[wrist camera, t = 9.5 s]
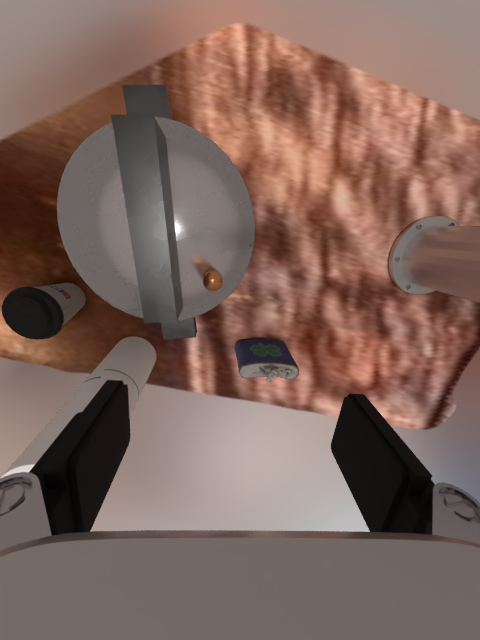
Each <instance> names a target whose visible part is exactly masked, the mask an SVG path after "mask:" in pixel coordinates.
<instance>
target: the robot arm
mask: <svg viewBox="0 0 480 640" xmlns="http://www.w3.org/2000/svg"><path fill="white" fill-rule="evenodd" d="M389 273H390V276H391V279H392V281H393V282H394V284H395V285H396V286H397V287H398V288H399V289H401V290H403V291H405V292H407V293H411V294H416V295H421V294H428V293H431V292H434V291H439V292H442V293H446V294H449V295H453V296H457V297H460V298H464V299H467V300H471V301H474V302H478V303H480V226H459V225H458V224H457V222H455V221H454V220H452V219H451V218H447V217H444V216H430V217H426V218H422V219H420V220H418V221H415V222H414V223H412V224H411V225H409V226H408V227H407V228H406V229H405V230H404V231H403V232H402V233H401V234H400V235H399V237H398V238H397V239H396V241H395V243H394V245H393V247H392V250H391V252H390V257H389ZM129 441H130V420H129V398H128V385H127V384H124V383H123V381H122V380H107V381H106V382H105V383H104V384H103V386H102V387H101V388H100V390H99V391H98V392H97V393H96V395H95V396H94V397H93V399H92V400H91V401H90V402H89V404H88V405H87V406H86V408H85V409H84V410H83V411H82V412H79V413H77V414H76V415H75V416H74V417H73V418H72V419H71V420H70V422H69V423H68V424H67V425H66V427H65V428H64V429H63V430H62V432H61V433H60V434H59V435H58V437H57V438H56V439H55V440H54V442H53V443H52V444H51V445H50V447H49V448H48V449H47V450H46V452H45V453H44V454H43V455H42V457H41V458H40V459H39V460H38V462H37V463H36V464H35V465H34V467H33V468H32V469H31V470H30V472H20V473H14V474H11V475H8V476H5V477H2V478H0V640H480V503H479V502H478V501H477V500H476V499H475V498H474V497H472V496H471V495H470V494H468V493H467V492H465V491H464V490H462V489H460V488H458V487H456V486H454V485H451V484H447V483H437V484H436V485H435V484H434V483H433V482H432V481H431V477H432V475H431V474H430V473H429V471H428V470H427V469H426V468H425V467H424V466H423V464H422V463H421V462H420V461H419V459H418V458H417V457H416V456H415V455H414V454H413V452H412V451H411V450H410V449H409V448H408V446H407V445H406V444H405V443H404V442H403V440H402V439H401V438H400V437H399V436H398V434H397V433H396V432H395V431H394V430H393V428H392V427H391V426H390V425H389V424H388V423H387V421H386V420H385V419H384V418H383V417H382V415H381V414H380V413H379V412H378V411H377V409H376V408H375V407H374V406H373V405H372V403H371V402H370V401H369V400H368V399H367V398H366V396H365V395H363V394H349V395H348V397H345V398H344V400H343V404H342V407H341V411H340V414H339V418H338V421H337V425H336V428H335V432H334V435H333V439H332V443H331V450H332V453H333V455H334V457H335V459H336V462H337V464H338V466H339V468H340V470H341V472H342V474H343V476H344V478H345V480H346V482H347V484H348V486H349V488H350V491H351V493H352V494H353V497H354V499H355V501H356V503H357V505H358V507H359V509H360V511H361V514H362V516H363V518H364V520H365V522H366V524H367V526H368V528H369V530H370V532H333V531H332V532H330V531H329V532H328V531H159V530H158V531H157V530H154V531H151V530H150V531H149V530H146V531H94V532H90V530H91V528H92V526H93V524H94V521H95V519H96V517H97V515H98V512H99V510H100V508H101V506H102V503H103V501H104V499H105V497H106V494H107V492H108V490H109V488H110V485H111V483H112V481H113V479H114V476H115V474H116V472H117V469H118V467H119V465H120V463H121V461H122V458H123V456H124V454H125V452H126V449H127V447H128V445H129Z"/></svg>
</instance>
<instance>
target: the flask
mask: <svg viewBox="0 0 480 640" xmlns="http://www.w3.org/2000/svg"><path fill="white" fill-rule="evenodd" d="M235 350H236V357H237V361H238V368H239V373H240V375H241V376H242V377H243V378H253V377H268V378H267V379H266V380H267V381H269V382H272V381H271V380H270V379H271V378H274V379H275V377H281V378H285V379H294V378H295V377H297V376H298V375H299V369H298V366H297V365H296V363H295V361H294V359H293V358H292V356H291V354H290V352H289V350H288V348H287V347H286V345H285V343H284V342H283V341H282V340H278V339H273V338H252V339H250V338H249V339H243V340H239V341H237V343H236V345H235Z"/></svg>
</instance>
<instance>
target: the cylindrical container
mask: <svg viewBox="0 0 480 640" xmlns="http://www.w3.org/2000/svg"><path fill="white" fill-rule="evenodd" d="M155 362H156V351H155V349H154V347H153V346H152V344H151V343H149V342H148V341H147V340H145V339H143V338H140V337H127V338H124V339H122V340H120V341H119V342H118V343H117V344H116V346H115V347H114V348H113V349H112V350H111V351H110V352H109V354H108V355H107V356H106V357H105V358H104V359H103V361H102V362H101V363H100V364H99V365H98V366H97V367H96V369H95V370H94V371H93V372H92V373H91V374H90V376H89V377H88V378H87V379H86V380H85V381H84V383H83V384H82V385H81V386H80V387H79V388H78V389H77V390H76V392H75V393H74V394H73V395H72V396H71V398H70V399H69V400H68V401H67V402H66V403H65V404H64V406H63V407H62V408H61V409H60V410H59V411H58V412H57V414H56V415H55V416H54V417H53V418H52V419H51V421H50V422H49V423H48V424H47V425H46V427H45V428H44V429H43V430H42V431H41V432H40V433H39V435H38V436H37V437H36V438H35V439H34V440H33V441H32V442H31V444H30V445H29V446H28V447H27V448H26V449H25V450H24V452H23V453H22V454H21V455H20V456H19V457H18V459H17V460H16V461H15V462H14V463H13V464H12V466H11V467H10V468H9V469H8V470H7V471H6V472H5V474H4V475H3V476H2V477H5V476H8V475H11V474H14V473H20V472H30V470H31V469H32V468H33V467H34V465H35V464H36V463H37V462H38V460H39V459H40V458H41V457H42V455H43V454H44V453H45V452H46V450H47V449H48V448H49V447H50V445H51V444H52V443H53V442H54V440H55V439H56V438H57V437H58V435H59V434H60V433H61V432H62V430H63V429H64V428H65V427H66V425H67V424H68V423H69V422H70V420H71V419H72V418H73V417H74V416H75V415H76V414H77V413H79V412H82V411H83V410H84V409H85V408H86V406H87V405H88V404H89V402H90V401H91V400H92V399H93V397H94V396H95V395H96V393H97V392H98V391H99V390H100V388H101V387H102V386H103V384H104V383H105V382H106V381H107V380H122V381H123V383H124V384H127V385H128V398H129V419H130V416H131V414H132V412H133V410H134V408H135V406H136V403H137V401H138V399H139V397H140V395H141V393H142V390H143V388H144V386H145V384H146V382H147V379H148V377H149V375H150V373H151V371H152V368H153V366H154V364H155ZM2 477H1V478H2Z"/></svg>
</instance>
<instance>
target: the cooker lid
mask: <svg viewBox="0 0 480 640" xmlns="http://www.w3.org/2000/svg"><path fill="white" fill-rule="evenodd" d="M111 118H112V123H110V124H108V125H105V126H103V127H102V128H100V129H99V130H97V131H95V132H94V133H92V134H91V135H90V136H89V137H88V138H87V139H86V140H84V141H83V142H82V143H81V145H80V146H79V147H78V148H77V150H76V151H75V152H74V153H73V155H72V157H71V158H70V160H69V162H68V164H67V165H66V168H65V170H64V173H63V175H62V178H61V182H60V186H59V191H58V201H57V215H58V224H59V230H60V235H61V238H62V241H63V244H64V248H65V250H66V252H67V254H68V256H69V259H70V261H71V262H72V264H73V266H74V267H75V269H76V271H77V272H78V273H79V275H80V276H81V277H82V279H83V280H84V281H85V283H86V284H87V285H88V286H89V287H90V288H91V289H92V290H93V291H94V292H95V293H96V294H98V295H99V296H100V297H101V298H102V299H104V300H105V301H106V302H108V303H110V304H111V305H113V306H114V307H116V308H118V309H120V310H122V311H124V312H126V313H128V314H131V315H134V316H136V317H140V318H143V319H144V323H161V322H177V321H178V320H184V319H188V318H193V317H195V316H198V315H201V314H203V313H205V312H207V311H209V310H211V309H213V308H214V307H216V306H217V305H218V304H220V303H221V302H223V301H224V300H225V299H226V298H227V297H228V296H229V295H230V294H231V293H232V292H233V290H234V289H235V288H236V287H237V285H238V284H239V282H240V281H241V279H242V278H243V276H244V274H245V272H246V269H247V267H248V265H249V262H250V259H251V255H252V251H253V246H254V237H255V223H254V213H253V208H252V203H251V199H250V196H249V193H248V190H247V188H246V185H245V183H244V181H243V179H242V177H241V175H240V173H239V172H238V170H237V169H236V167H235V165H234V164H233V163H232V161H231V160H230V159H229V158H228V156H227V155H226V154H225V153H224V152H223V151H222V150H221V149H220V148H219V147H218V146H217V145H216V144H215V143H214V142H213V141H212V140H210V139H209V138H208V137H206V136H205V135H204V134H202V133H200V132H199V131H197V130H195V129H193V128H192V127H190V126H188V125H185V124H182V123H180V122H177V121H175V120H170V119H166V118H162V117H154V115H111Z"/></svg>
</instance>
